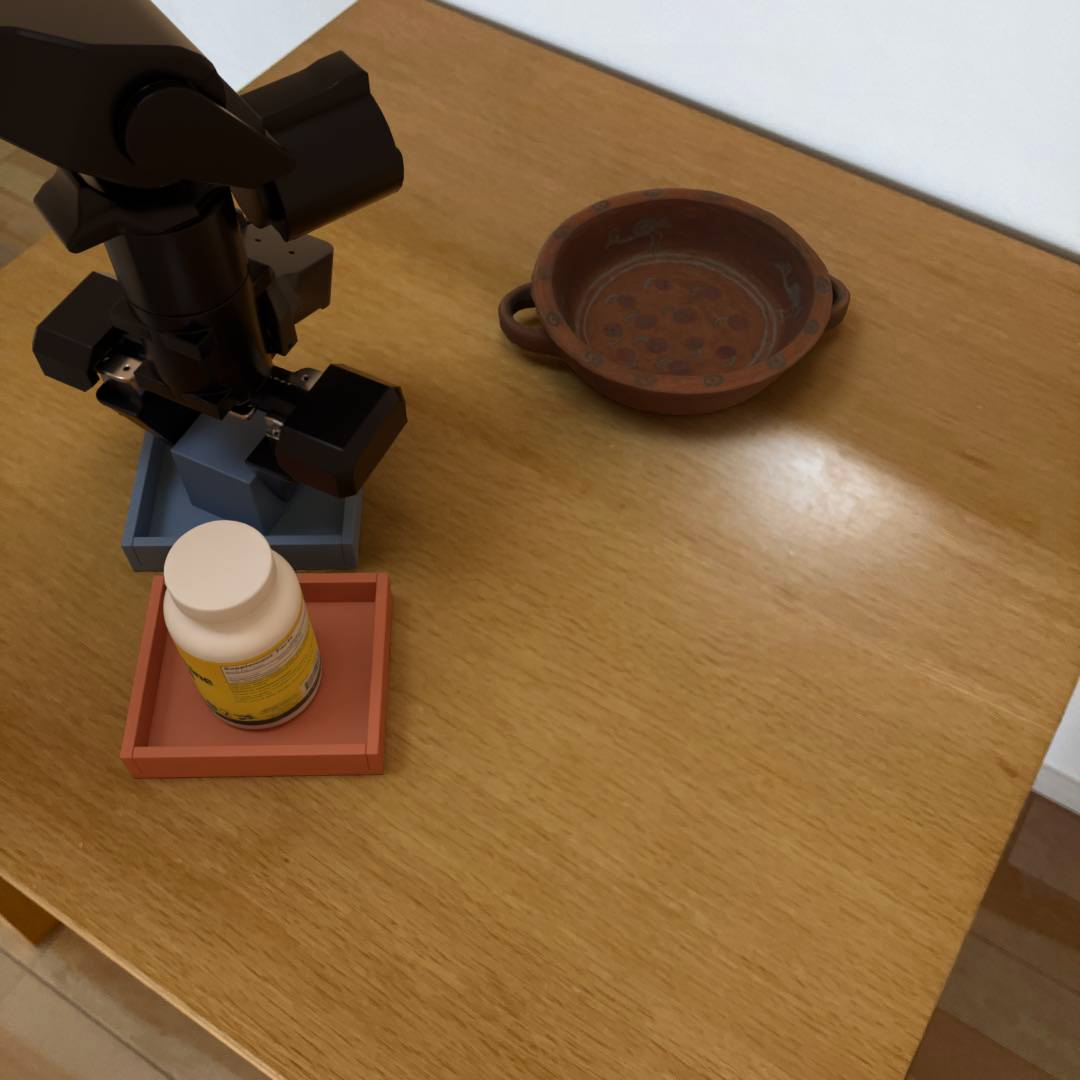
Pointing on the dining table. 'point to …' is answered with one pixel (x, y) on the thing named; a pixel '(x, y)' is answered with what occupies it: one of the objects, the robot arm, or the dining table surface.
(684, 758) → the dining table surface
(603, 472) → the dining table surface
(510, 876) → the dining table surface
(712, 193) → the dish
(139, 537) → the blue tray
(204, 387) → the robot arm
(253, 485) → the blue block
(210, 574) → the pill bottle
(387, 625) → the terracotta tray
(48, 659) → the dining table surface
